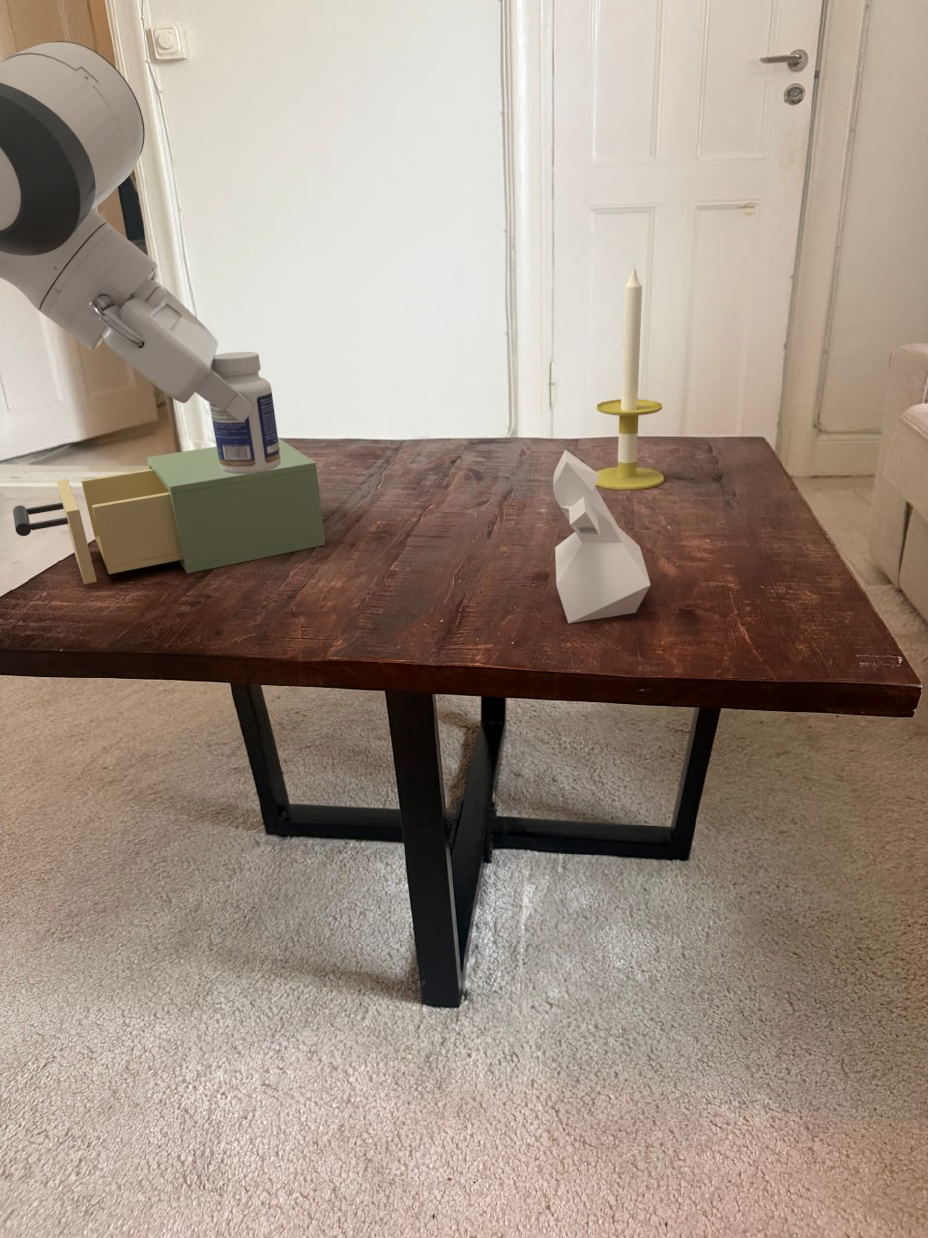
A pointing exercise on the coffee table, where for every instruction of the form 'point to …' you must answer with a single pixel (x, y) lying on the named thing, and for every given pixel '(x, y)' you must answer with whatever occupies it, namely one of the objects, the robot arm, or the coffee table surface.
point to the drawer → (115, 521)
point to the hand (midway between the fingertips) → (249, 406)
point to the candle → (629, 403)
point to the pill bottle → (256, 436)
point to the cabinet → (240, 507)
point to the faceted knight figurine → (594, 551)
